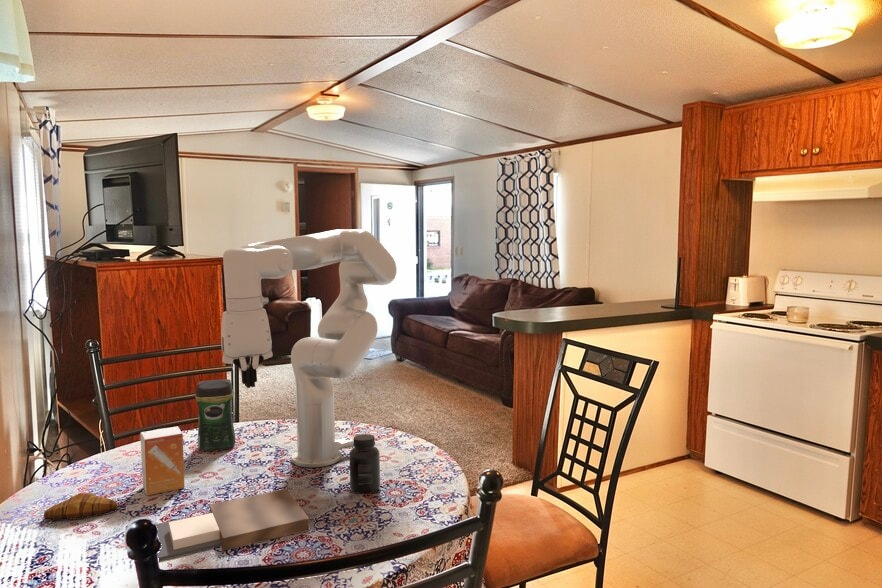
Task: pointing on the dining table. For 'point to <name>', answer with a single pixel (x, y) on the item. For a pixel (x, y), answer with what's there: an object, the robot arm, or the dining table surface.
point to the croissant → (81, 507)
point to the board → (258, 518)
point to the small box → (162, 460)
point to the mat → (169, 552)
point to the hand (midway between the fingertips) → (249, 385)
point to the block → (193, 531)
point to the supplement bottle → (364, 465)
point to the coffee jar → (215, 415)
